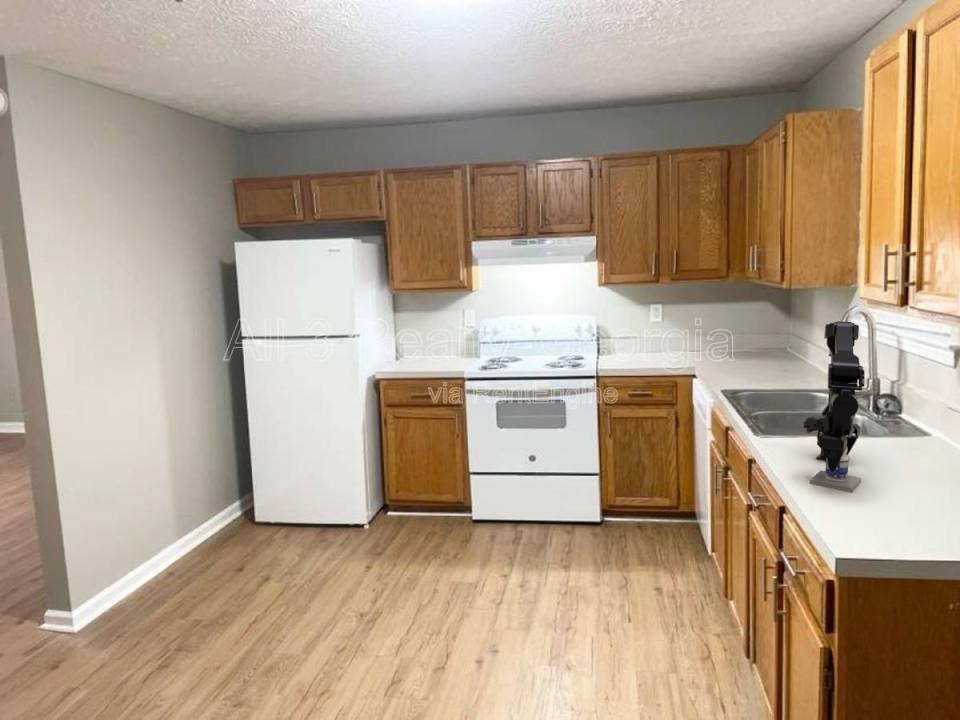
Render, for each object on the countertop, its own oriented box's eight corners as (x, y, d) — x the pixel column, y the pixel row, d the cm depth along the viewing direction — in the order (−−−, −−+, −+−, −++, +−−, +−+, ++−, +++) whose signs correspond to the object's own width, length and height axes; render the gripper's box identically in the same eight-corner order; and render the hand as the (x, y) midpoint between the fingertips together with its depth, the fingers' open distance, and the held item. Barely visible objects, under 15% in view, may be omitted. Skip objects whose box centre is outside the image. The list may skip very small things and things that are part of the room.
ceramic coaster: (820, 474, 193) (820, 470, 192) (860, 482, 186) (861, 478, 186) (809, 484, 185) (810, 479, 185) (851, 492, 179) (852, 488, 178)
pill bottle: (820, 476, 187) (822, 444, 186) (835, 474, 189) (838, 442, 187) (836, 483, 182) (839, 449, 181) (852, 480, 184) (855, 447, 182)
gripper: (818, 398, 194) (814, 452, 197) (797, 410, 180) (793, 469, 183) (863, 403, 187) (858, 460, 190) (845, 417, 173) (840, 478, 176)
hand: (836, 466), depth 185 cm, fingers open, 9 cm apart
